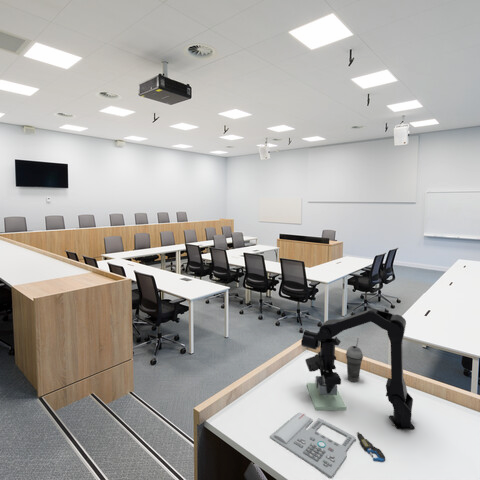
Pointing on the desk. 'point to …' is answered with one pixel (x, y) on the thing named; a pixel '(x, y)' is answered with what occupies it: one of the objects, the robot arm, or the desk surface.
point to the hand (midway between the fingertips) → (325, 387)
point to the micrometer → (371, 448)
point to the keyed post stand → (325, 399)
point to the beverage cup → (354, 362)
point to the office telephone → (313, 443)
